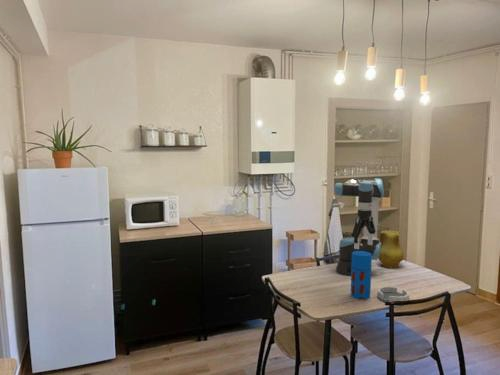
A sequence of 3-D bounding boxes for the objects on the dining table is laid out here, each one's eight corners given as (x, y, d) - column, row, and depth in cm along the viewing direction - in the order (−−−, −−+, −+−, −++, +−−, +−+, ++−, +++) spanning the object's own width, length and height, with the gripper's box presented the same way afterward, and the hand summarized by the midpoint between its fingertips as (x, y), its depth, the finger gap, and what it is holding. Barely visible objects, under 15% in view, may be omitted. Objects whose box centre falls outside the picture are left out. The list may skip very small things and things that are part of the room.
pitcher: (379, 268, 270) (381, 232, 268) (375, 261, 288) (377, 228, 287) (405, 270, 267) (407, 234, 265) (399, 263, 285) (401, 230, 284)
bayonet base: (371, 297, 219) (371, 291, 218) (387, 290, 230) (387, 284, 229) (399, 307, 206) (399, 300, 205) (415, 299, 217) (415, 292, 216)
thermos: (371, 300, 215) (372, 256, 212) (351, 299, 217) (352, 255, 214) (369, 293, 225) (370, 251, 223) (350, 291, 227) (351, 250, 225)
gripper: (357, 212, 205) (356, 251, 207) (382, 208, 221) (381, 244, 223) (345, 211, 210) (344, 249, 213) (370, 206, 227) (369, 241, 229)
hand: (363, 246), depth 218 cm, fingers open, 13 cm apart
